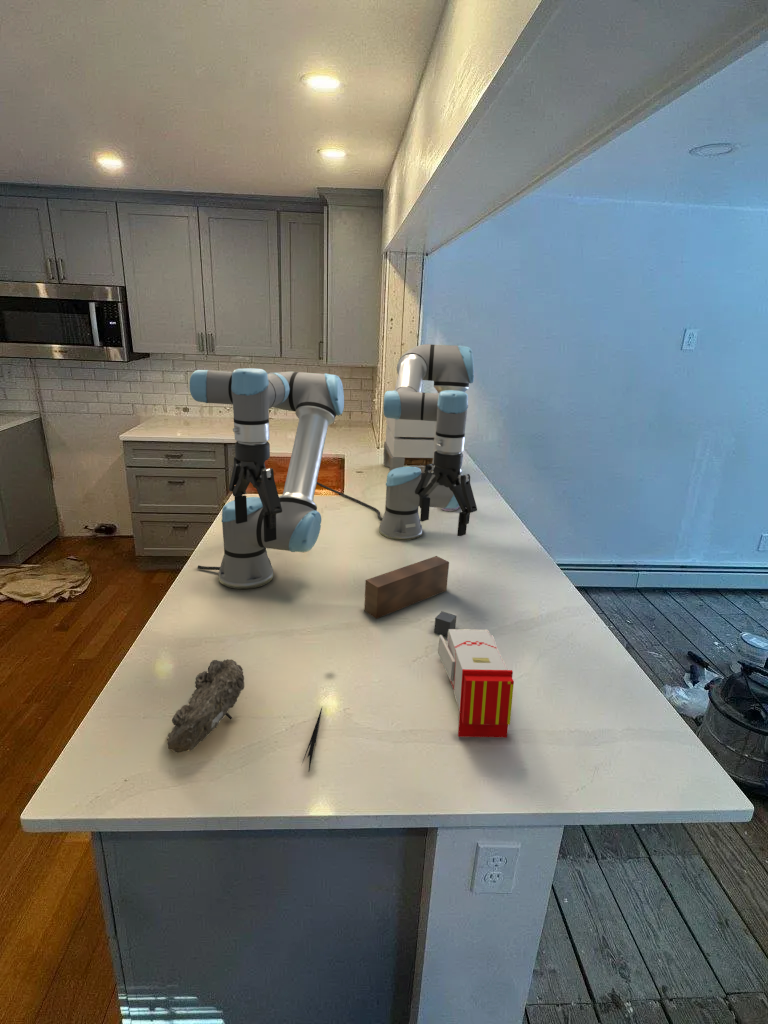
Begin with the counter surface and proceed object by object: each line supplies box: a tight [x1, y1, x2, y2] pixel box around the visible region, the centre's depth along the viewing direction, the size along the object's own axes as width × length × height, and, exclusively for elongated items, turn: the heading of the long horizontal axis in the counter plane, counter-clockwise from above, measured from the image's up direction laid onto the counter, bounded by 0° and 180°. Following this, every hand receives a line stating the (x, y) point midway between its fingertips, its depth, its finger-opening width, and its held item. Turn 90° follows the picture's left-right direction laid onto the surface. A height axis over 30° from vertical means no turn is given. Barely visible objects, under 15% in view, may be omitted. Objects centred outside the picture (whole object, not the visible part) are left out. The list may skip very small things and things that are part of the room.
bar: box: [363, 555, 450, 619], centre depth 153 cm, size 26×5×9 cm, turn 131°
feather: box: [301, 673, 332, 771], centre depth 108 cm, size 2×28×2 cm
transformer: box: [383, 417, 463, 472], centre depth 268 cm, size 34×33×41 cm
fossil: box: [166, 658, 245, 754], centre depth 106 cm, size 22×10×15 cm
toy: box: [437, 628, 515, 738], centre depth 117 cm, size 12×13×30 cm
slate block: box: [433, 610, 458, 637], centre depth 140 cm, size 4×4×4 cm
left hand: (255, 531), depth 132 cm, fingers open, 13 cm apart
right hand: (442, 527), depth 155 cm, fingers open, 13 cm apart
